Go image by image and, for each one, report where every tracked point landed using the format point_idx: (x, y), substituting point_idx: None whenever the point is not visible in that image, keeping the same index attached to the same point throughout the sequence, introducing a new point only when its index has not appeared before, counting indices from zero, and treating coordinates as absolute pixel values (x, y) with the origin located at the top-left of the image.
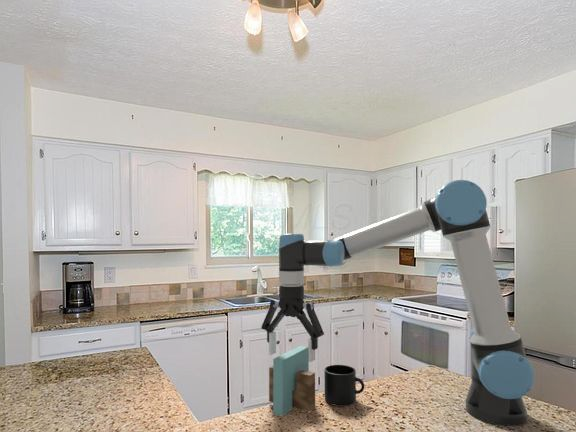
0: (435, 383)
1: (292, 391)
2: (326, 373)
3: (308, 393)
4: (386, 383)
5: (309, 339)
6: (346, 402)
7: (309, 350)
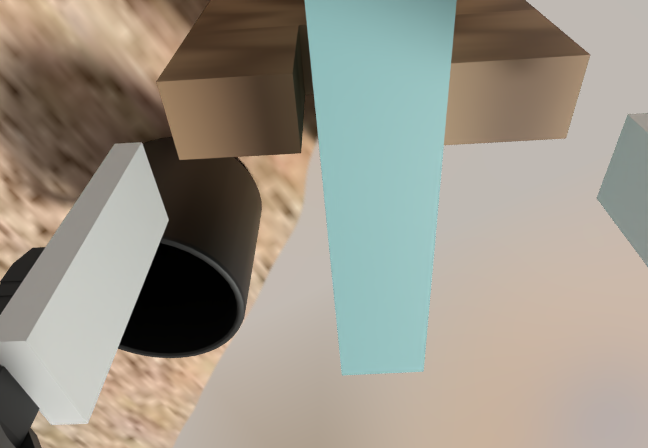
0: (48, 430)
1: None
2: (188, 238)
3: (204, 31)
4: (158, 380)
5: (14, 330)
6: None
7: (85, 215)
